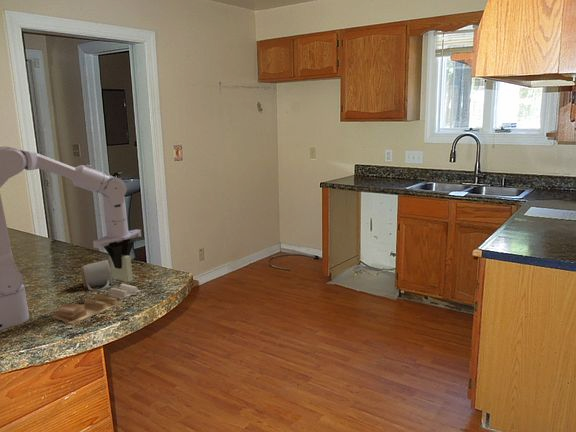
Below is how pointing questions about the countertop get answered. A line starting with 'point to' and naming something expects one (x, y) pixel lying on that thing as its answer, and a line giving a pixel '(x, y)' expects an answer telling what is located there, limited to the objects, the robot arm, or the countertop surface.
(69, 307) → the offcut top
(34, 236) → the countertop surface
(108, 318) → the countertop surface
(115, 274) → the pale green square slab
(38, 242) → the countertop surface
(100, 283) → the ceramic mug
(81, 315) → the offcut low
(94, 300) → the rack
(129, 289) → the stand
